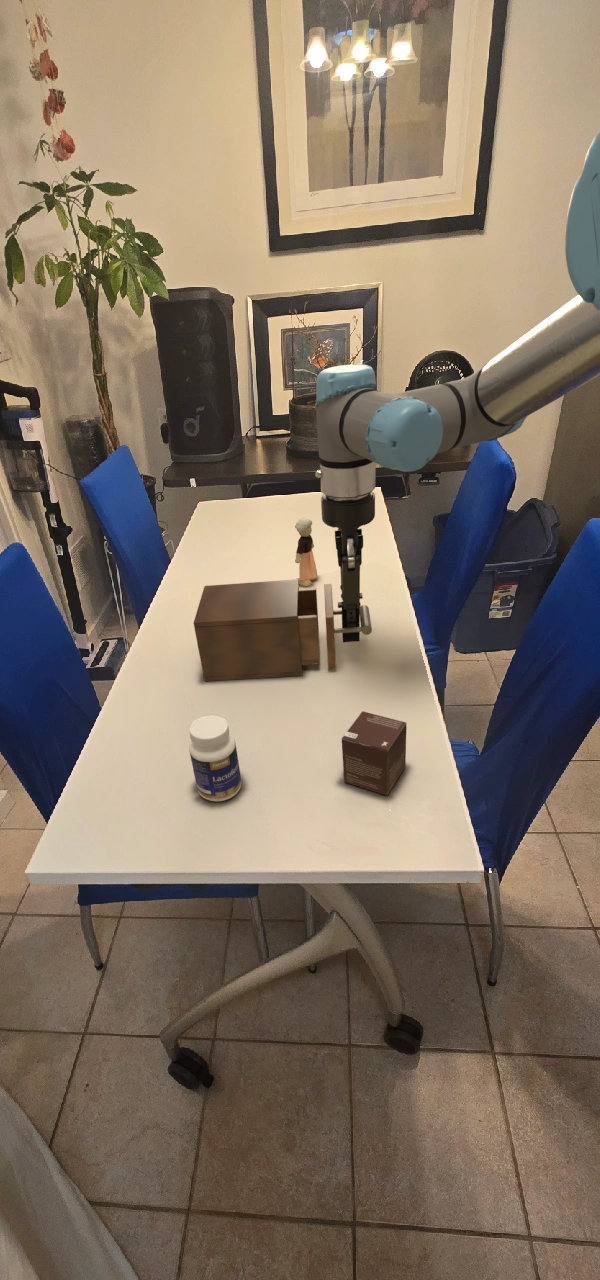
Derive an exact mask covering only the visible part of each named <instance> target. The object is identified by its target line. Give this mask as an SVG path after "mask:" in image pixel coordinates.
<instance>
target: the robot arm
mask: <svg viewBox="0 0 600 1280" xmlns="http://www.w3.org/2000/svg"><path fill="white" fill-rule="evenodd" d="M565 221H566V222H565V233H564V234H565V235H564V241H565V242H564V250H565V251H564V252H565V261H566V267H567V272H568V275H569V278H570V281H571V284H572V285H573V288H574V290H575V291H576V293H577V295H576V296H575V297H573V298H572V299H571V300H570V301H568V302H567V303H565V304H564V305H562V306H561V307H560V308H559V309H557V310H556V311H554V312H553V313H551V315H550V316H547V318H545V319H544V320H543V321H541V322H540V323H539V324H537V325H536V326H535V327H533V328H532V329H531V330H530V331H528V332H527V333H525V334H524V335H523V336H521V337H519V339H517V340H516V341H515V342H513V343H512V344H511V345H509V346H508V347H506V349H504V350H502V351H501V352H500V353H498V354H497V355H496V356H494V357H493V358H491V360H489V362H487V363H486V364H485V365H483V366H482V367H480V368H479V369H478V370H476V371H474V372H473V373H472V374H471V375H468V376H467V377H464V378H461V379H457V380H451V381H449V382H448V381H447V382H443V383H439V384H436V385H435V384H434V385H430V386H425V387H420V388H415V389H411V390H407V391H401V392H396V393H389V392H384V391H379V390H377V387H378V385H377V381H376V373H375V370H374V369H373V367H372V366H371V365H368V364H357V363H355V364H343V365H337V366H336V365H335V366H332V367H328V368H325V369H323V370H321V371H320V372H319V373H318V375H317V377H316V382H315V386H316V390H315V391H316V392H315V394H316V396H315V397H316V398H315V399H316V401H315V403H314V407H315V412H316V427H317V428H316V429H317V444H318V445H317V446H318V457H319V468H320V469H318V470H316V471H315V472H314V473H315V476H314V477H316V478H318V479H319V478H320V492H321V493H322V495H321V497H320V506H321V508H320V509H321V520H322V522H323V523H324V525H326V526H328V527H331V528H333V529H334V528H337V530H334V542H335V550H336V556H337V557H336V558H337V564H338V567H339V568H340V569H339V570H340V585H339V588H340V591H341V594H340V598H341V602H340V601H339V602H337V609H341V610H342V614H341V628H351V627H361V623H360V615H359V608H360V606H362V605H361V600H362V599H363V592H361V566H362V563H363V561H362V560H363V559H362V558H363V554H362V553H363V548H364V535H363V528H360V527H362V526H366V525H368V524H371V522H373V521H374V519H375V516H376V493H375V492H374V491H375V489H376V485H377V484H376V479H377V478H376V471H377V468H376V464H378V465H379V466H381V467H384V468H386V469H390V470H393V471H401V472H405V473H406V472H409V473H410V472H416V471H418V470H420V469H422V468H423V467H425V465H427V463H429V462H430V461H432V460H433V459H434V458H435V457H436V455H437V454H441V453H444V452H447V451H451V450H453V449H457V448H462V447H467V446H469V445H473V444H478V443H482V442H483V443H484V442H493V441H496V440H499V439H500V438H503V437H505V436H508V435H510V434H513V433H514V432H516V431H518V430H519V429H520V428H521V427H522V426H523V425H524V424H523V423H524V422H525V420H526V419H527V417H528V416H530V415H532V414H535V412H537V411H539V410H541V409H543V408H545V407H546V406H548V405H550V404H552V403H553V402H555V401H557V400H558V399H560V398H562V397H564V396H565V395H568V394H569V393H571V392H574V390H576V389H578V388H580V387H581V386H583V385H585V384H586V383H588V382H590V381H592V380H594V379H596V378H597V377H599V376H600V128H599V129H598V131H597V133H596V135H595V136H594V138H593V140H592V141H591V143H590V146H589V148H588V150H587V152H586V154H585V158H584V163H583V168H582V170H581V174H580V176H579V177H578V178H577V179H576V181H575V182H574V186H573V189H572V193H571V196H570V200H569V204H568V210H567V215H566V220H565ZM341 634H342V643H359V642H361V632H350V633H341Z"/></svg>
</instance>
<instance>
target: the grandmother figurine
mask: <svg viewBox="0 0 600 1280" xmlns="http://www.w3.org/2000/svg"><path fill="white" fill-rule="evenodd" d="M312 525H313V520H312V519H310V518H308V517H301V518H299V519H298V521H296V523H295V525H294V529H296V531H297V532H298V535H299V536H300V537H299V539H298V541H297V547H296V552H295V559H294V562H295V564H298V565H299V567H298V569H299V571H298V574H299V575H298V577H299V580H298V581H299V586H303V587H309V586H310V587H311V585H312V582H313V581H315V580H316V579H317V578H318V570H317V565H316V560H315V556H314V552H313V549H314V548H315V544H314V540H313V537H312V535H311V534H312V531H313V530H312V529H313V528H312Z"/></svg>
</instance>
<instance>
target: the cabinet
mask: <svg viewBox="0 0 600 1280" xmlns="http://www.w3.org/2000/svg"><path fill="white" fill-rule="evenodd" d="M299 581H300V580H299V579H298V578H297V579H283V580H270V581H269V580H268V581H267V580H266V581H254V582H253V581H252V582H240V583H226V584H212V585H204V586H203V589H202V593H201V596H200V599H199V604H198V606H197V610H196V613H195V616H194V620H193V629H194V633H195V638H196V642H197V648H198V654H199V659H200V664H201V669H202V675H203V680H204V682H213V681H231V680H233V681H234V680H249V679H250V680H253V679H268V678H269V679H270V678H289V677H302V676H303V665H301V653H300V641H299V629H298V590H299V589H300V584H299Z"/></svg>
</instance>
